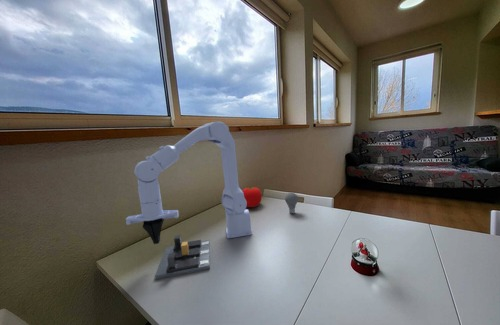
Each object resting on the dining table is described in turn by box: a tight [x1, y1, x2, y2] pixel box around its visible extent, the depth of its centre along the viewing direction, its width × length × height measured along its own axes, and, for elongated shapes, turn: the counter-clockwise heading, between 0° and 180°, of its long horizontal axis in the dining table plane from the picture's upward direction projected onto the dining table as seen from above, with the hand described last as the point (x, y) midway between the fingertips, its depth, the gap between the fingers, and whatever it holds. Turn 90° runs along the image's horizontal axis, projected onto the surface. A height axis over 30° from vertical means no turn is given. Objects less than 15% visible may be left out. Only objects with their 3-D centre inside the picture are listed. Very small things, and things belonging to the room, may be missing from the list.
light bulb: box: [284, 192, 299, 214], centre depth 94 cm, size 6×6×10 cm
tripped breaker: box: [181, 241, 189, 255], centre depth 64 cm, size 2×2×3 cm
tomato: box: [242, 186, 263, 208], centre depth 107 cm, size 11×12×10 cm
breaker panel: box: [154, 234, 211, 280], centre depth 64 cm, size 15×15×5 cm
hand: (156, 242), depth 62 cm, fingers closed
